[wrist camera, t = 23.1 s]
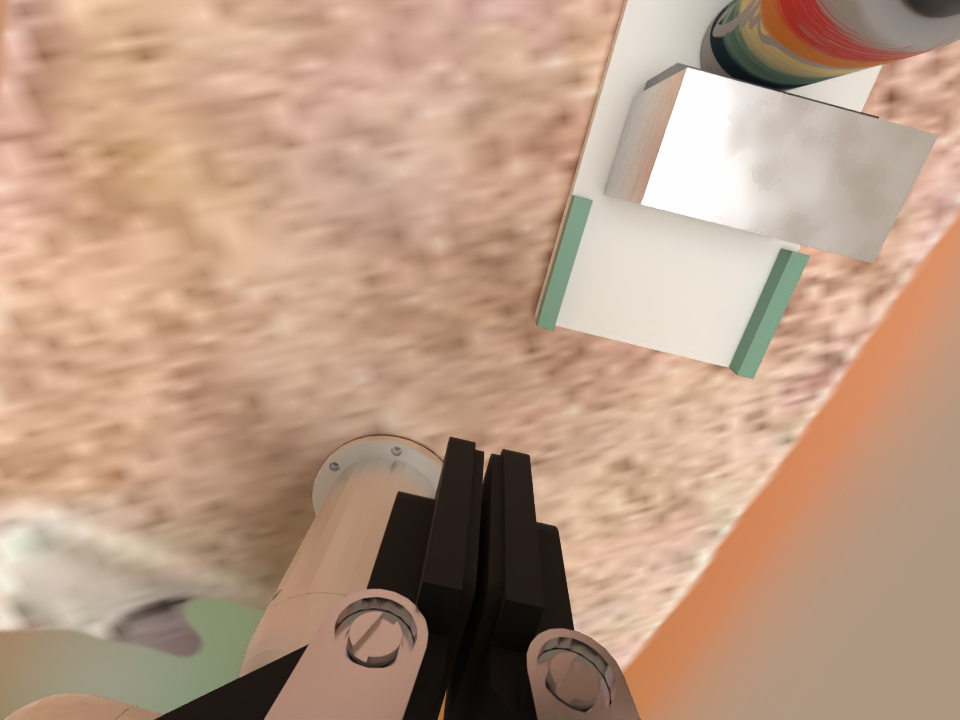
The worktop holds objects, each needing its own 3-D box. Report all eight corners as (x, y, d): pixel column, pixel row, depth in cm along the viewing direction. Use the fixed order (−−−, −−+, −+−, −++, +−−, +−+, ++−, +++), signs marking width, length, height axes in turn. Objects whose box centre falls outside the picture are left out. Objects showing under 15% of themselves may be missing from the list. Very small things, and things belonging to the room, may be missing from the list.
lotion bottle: (715, -13, 30) (1059, -306, 12) (809, 4, 31) (1301, -259, 12) (686, 94, 32) (941, -10, 14) (775, 109, 32) (1149, 28, 14)
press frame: (735, 364, 40) (777, 399, 34) (534, 315, 39) (540, 342, 33) (910, -31, 31) (1010, -80, 25) (654, -104, 30) (692, -172, 24)
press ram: (773, 238, 35) (873, 263, 26) (603, 194, 35) (641, 203, 25) (821, 128, 33) (950, 111, 23) (639, 79, 32) (695, 42, 23)
